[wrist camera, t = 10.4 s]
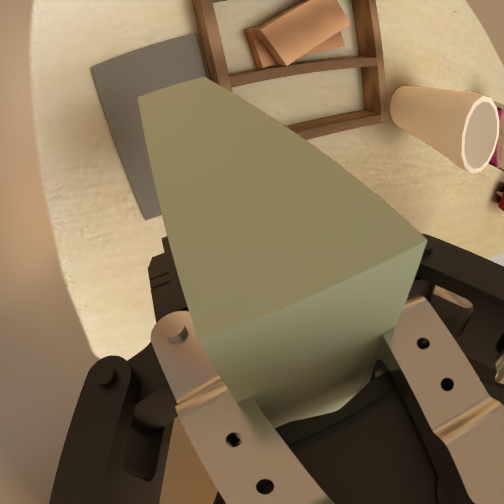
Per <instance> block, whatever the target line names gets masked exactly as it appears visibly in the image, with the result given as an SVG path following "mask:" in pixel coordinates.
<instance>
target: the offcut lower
mask: <svg viewBox="0 0 504 504" xmlns="http://www.w3.org/2000/svg"><path fill="white" fill-rule="evenodd" d="M263 25H264V24H263ZM261 26H262V25H260V26H256V27H252V28H249V29H246V30H244V31H245V34H246V37H247V39H248V42H249V45H250V47H251V50H252V53H253V56H254V59H255V61H256V64H257V67H258V68H265V67H268V66H272V65H275V64H277V63H276V62H275V61H274V59H273V58H272V57H271V55H270V54H269V53H268V51H267V50H266V49H265V47H264V46H263V45H262V43H261V42H260V41H259V39H258V38H257V37H256V35H255V34H254V33H253V31H254V30H256V29H257V28H259V27H261ZM343 46H344V42H343V38H342V35H341V31H339V32H338V33H336V34H334V35H333V36H331V37H330V38H328V39H327V40H325V41H323V42H322V43H320V44H319V45H317V46H316V47H314V48H313V49H311V50H310V51H308V52H307V53H305V54H304V55H302V56H306V55H310V54H313V53H317V52H321V51H326V50H330V49H334V48H339V47H343ZM302 56H301V57H302Z"/></svg>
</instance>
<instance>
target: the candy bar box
mask: <svg viewBox="0 0 504 504" xmlns="http://www.w3.org/2000/svg"><path fill="white" fill-rule="evenodd" d="M493 102H494V101H493ZM494 103H495V105H496V106H497V111H498V116H499V136H498V140H497V144H496V148H495V151H494V153H493V155H492V157H491V159H490V161H489V164H491V165H493V166H495V167H497V168H498V169H501V170H503V171H504V105H503V104H500V103H497V102H494Z"/></svg>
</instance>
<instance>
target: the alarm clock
mask: <svg viewBox="0 0 504 504" xmlns="http://www.w3.org/2000/svg"><path fill="white" fill-rule="evenodd" d="M496 193H497V194H498V195H500V196H501V199H500V201H499V205H498V207H499V208H500V209H502V210H503V211H504V190H503V193H502V192H499V191H496Z"/></svg>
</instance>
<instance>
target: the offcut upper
mask: <svg viewBox="0 0 504 504" xmlns="http://www.w3.org/2000/svg"><path fill="white" fill-rule="evenodd" d="M349 25H351V24H350V22H349V20H348V19H347V17H346V15H345V14H344V12H343V10H342V9H341V7H340V6H339V4H338V2H337V1H336V0H304V1H303V2H301V3H299V4H297V5H295V6H294V7H292V8H290V9H288V10H287V11H285V12H283V13H282V14H280V15H278V16H277V17H275V18H273V19H272V20H270V21H268V22H267V23H265V24H264V25H262V26H261V27H259V28H257V29H256V30H254V31H253V33H254V34H255V35H256V37H257V38H258V39H259V41H260V42H261V43H262V45H263V46H264V47H265V49H266V50H267V51H268V53H269V54H270V55H271V57H272V58H273V59H274V61H275V62H276V63H277V65H278V66H288V65H289V64H291V63H292V62H294V61H295V60H296V59H298V58H299V57H301V56H302V55H304V54H305V53H307V52H308V51H310V50H311V49H313V48H314V47H316V46H317V45H319V44H320V43H322V42H323V41H325V40H327V39H328V38H330V37H331V36H333V35H334V34H336V33H338V32H339V31H341V30H343V29H344V28H346V27H348V26H349Z"/></svg>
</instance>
